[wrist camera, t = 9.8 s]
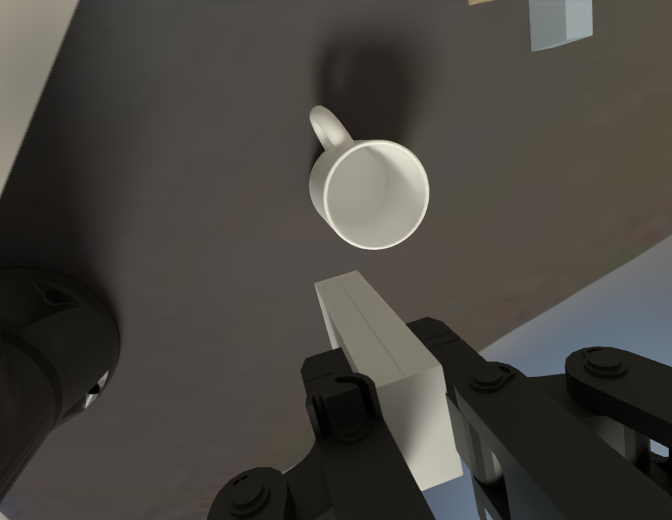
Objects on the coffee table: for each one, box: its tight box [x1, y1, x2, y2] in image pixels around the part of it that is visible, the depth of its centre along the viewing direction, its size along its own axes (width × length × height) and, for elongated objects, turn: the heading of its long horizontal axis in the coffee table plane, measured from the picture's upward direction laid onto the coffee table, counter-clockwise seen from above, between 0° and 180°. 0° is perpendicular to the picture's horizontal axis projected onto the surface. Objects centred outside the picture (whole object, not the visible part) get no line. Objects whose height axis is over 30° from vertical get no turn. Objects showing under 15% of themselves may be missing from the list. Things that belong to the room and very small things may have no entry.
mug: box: [309, 106, 429, 250], centre depth 37 cm, size 12×8×10 cm
